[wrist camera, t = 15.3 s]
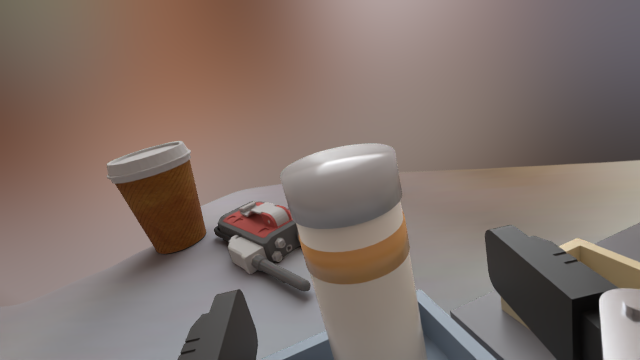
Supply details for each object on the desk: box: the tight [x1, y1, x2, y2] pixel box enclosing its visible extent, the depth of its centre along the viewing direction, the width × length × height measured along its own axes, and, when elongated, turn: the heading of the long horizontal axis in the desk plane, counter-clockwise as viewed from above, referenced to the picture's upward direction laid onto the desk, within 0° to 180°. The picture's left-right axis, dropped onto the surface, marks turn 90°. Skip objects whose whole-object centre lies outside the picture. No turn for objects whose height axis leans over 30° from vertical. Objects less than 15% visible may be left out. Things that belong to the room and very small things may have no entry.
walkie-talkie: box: [214, 201, 310, 291], centre depth 37 cm, size 9×4×20 cm
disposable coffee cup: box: [107, 141, 206, 254], centre depth 43 cm, size 10×10×12 cm
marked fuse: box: [280, 144, 427, 360], centre depth 14 cm, size 4×4×13 cm
